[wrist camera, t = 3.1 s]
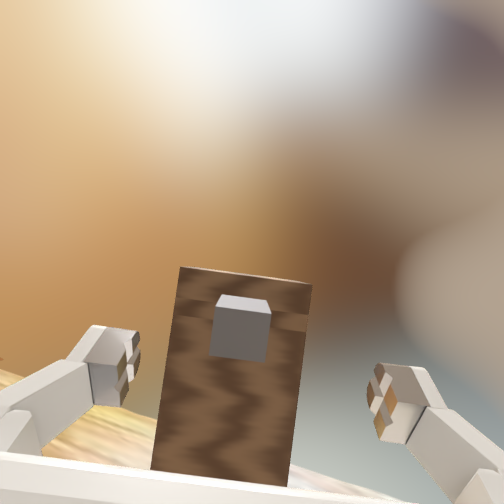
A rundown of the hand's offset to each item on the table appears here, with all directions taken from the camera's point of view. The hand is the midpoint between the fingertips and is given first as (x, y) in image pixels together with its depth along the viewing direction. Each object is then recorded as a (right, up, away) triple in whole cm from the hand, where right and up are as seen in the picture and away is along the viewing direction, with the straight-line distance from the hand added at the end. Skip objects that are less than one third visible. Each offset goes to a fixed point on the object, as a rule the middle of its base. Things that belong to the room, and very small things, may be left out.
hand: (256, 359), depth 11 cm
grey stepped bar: (-1, -4, +20) cm, 20 cm away
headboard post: (-5, -30, +26) cm, 40 cm away
